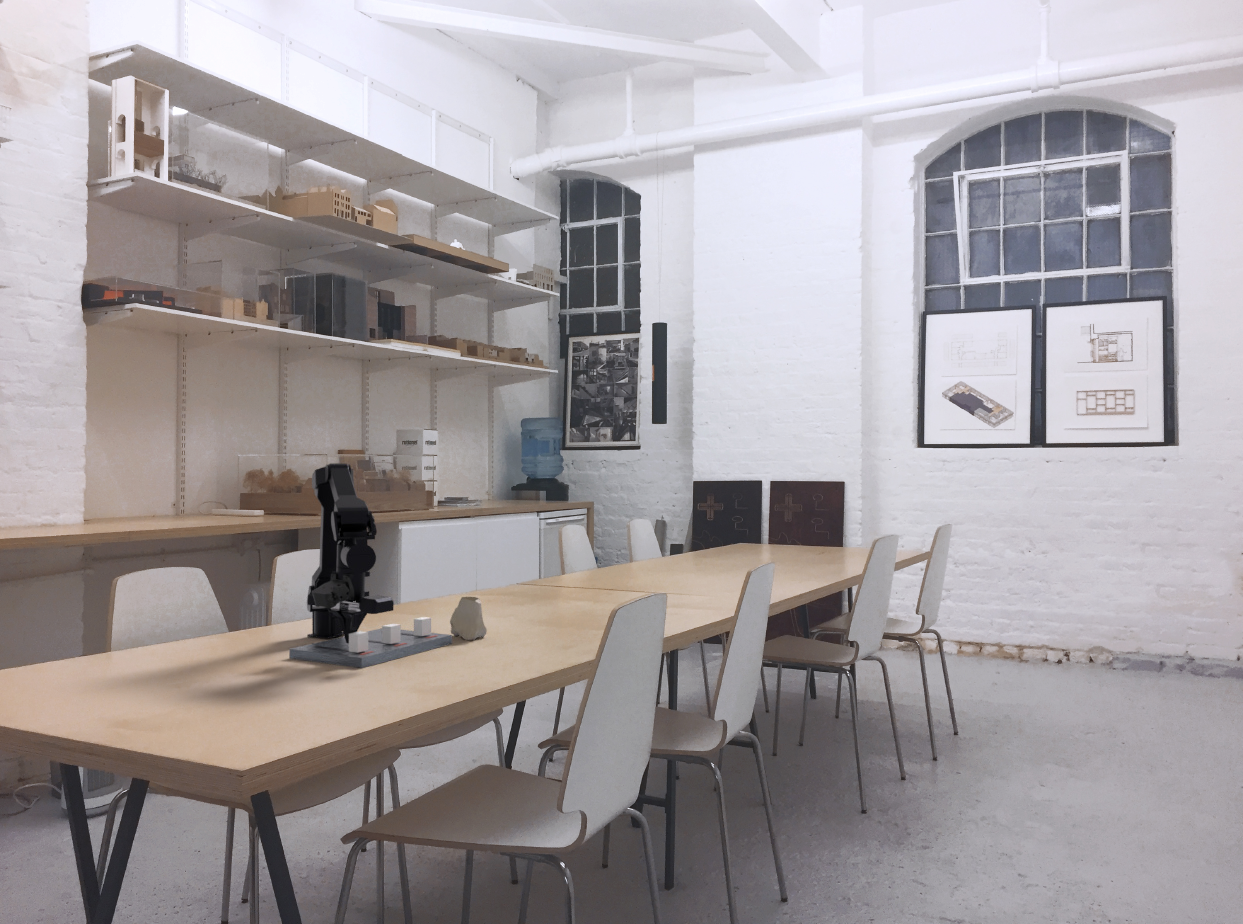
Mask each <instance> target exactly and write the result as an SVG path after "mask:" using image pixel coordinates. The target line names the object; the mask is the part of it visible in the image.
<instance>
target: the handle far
mask: <svg viewBox="0 0 1243 924" xmlns="http://www.w3.org/2000/svg"><path fill="white" fill-rule="evenodd" d="M413 631H414V635H416V636H425V635H429V634H431V633H432V617H426V616H421V617H418V618H414V619H413Z"/></svg>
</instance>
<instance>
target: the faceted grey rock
mask: <svg viewBox="0 0 1243 924" xmlns="http://www.w3.org/2000/svg"><path fill="white" fill-rule="evenodd" d="M458 602H459V603H458V605H457V607H455V609H454V611H453V612H452V615H451V617H450V620H449V624H450V633H451V634H450V635H452V636H454V637H459V636H460V637H461V638H463V640H465V641H471V640H473V641H474V640H476V639H477V638H485V635H487V634H488V632H487V631H488V630H487V627H486V625H485V623H484V618H483V617H484V616H483V609H482V601H481V600H480V598H479V597H476V596H461V598H460V600H459V601H458Z"/></svg>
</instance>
